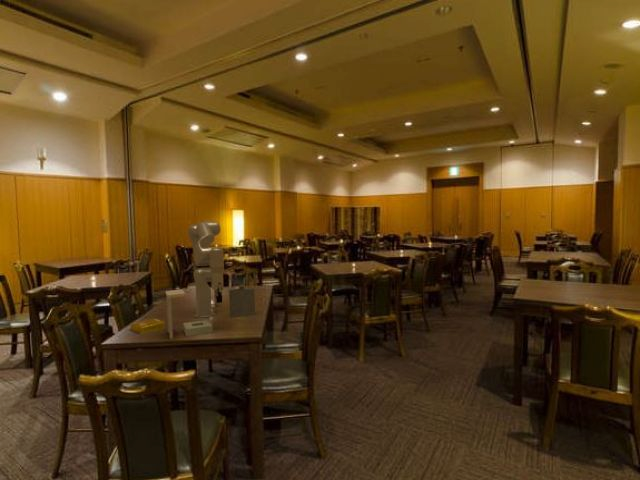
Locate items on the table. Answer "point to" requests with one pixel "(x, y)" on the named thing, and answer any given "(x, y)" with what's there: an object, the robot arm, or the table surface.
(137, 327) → the element tile
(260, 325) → the table surface
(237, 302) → the hip flask
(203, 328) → the socket block
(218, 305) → the peg
